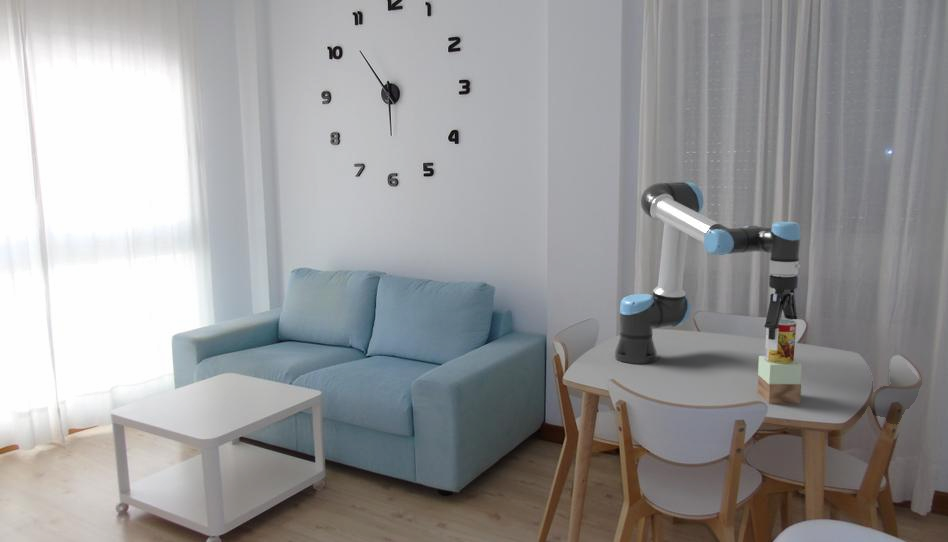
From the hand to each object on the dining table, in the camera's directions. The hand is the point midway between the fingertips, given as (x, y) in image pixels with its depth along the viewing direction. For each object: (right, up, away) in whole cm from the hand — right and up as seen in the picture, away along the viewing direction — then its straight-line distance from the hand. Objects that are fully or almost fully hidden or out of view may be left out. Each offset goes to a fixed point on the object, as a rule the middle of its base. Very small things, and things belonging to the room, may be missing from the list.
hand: (780, 344), depth 192 cm
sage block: (+1, -11, +2) cm, 11 cm away
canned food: (0, -5, +1) cm, 5 cm away
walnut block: (+1, -17, +3) cm, 17 cm away
